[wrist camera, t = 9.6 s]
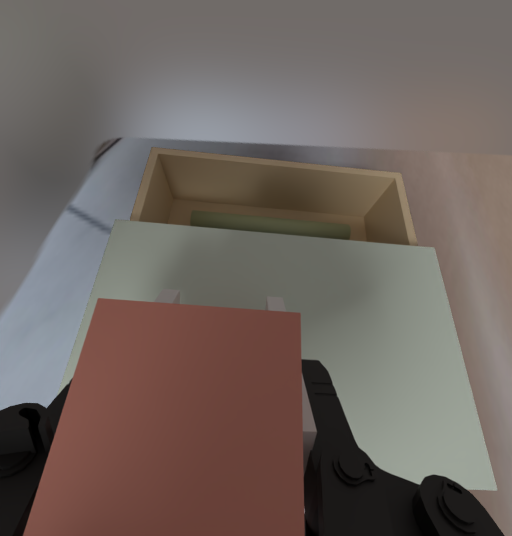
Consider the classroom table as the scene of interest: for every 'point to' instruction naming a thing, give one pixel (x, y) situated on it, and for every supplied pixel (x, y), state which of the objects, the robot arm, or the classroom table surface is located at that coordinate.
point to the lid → (248, 381)
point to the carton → (273, 197)
